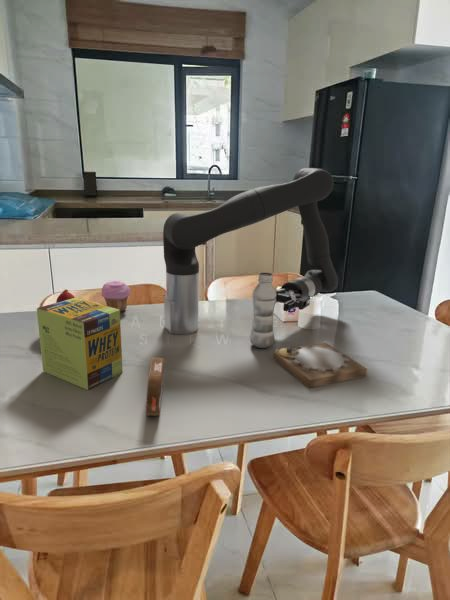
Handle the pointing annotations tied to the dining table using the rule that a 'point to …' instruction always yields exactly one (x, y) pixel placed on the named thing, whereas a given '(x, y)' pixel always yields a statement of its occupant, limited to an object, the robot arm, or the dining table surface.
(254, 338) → the plastic bottle
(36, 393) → the dining table surface
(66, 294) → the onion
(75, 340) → the protein box
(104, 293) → the cupcake
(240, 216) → the robot arm
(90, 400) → the dining table surface
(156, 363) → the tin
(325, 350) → the gear board
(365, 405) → the dining table surface
